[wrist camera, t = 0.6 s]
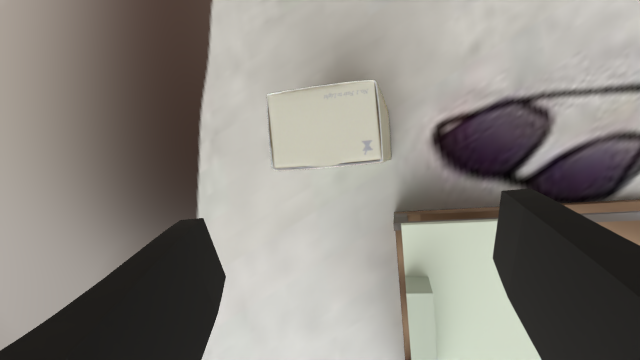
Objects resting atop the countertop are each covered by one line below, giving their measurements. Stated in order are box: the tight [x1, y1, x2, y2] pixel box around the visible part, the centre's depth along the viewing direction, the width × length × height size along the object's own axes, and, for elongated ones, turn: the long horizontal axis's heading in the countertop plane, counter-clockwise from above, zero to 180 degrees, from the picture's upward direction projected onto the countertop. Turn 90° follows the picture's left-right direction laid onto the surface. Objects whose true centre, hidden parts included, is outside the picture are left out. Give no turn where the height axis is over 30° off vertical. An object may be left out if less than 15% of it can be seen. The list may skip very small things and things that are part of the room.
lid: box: [401, 219, 541, 360], centre depth 22 cm, size 13×8×4 cm, turn 5°
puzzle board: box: [394, 199, 640, 360], centre depth 25 cm, size 13×22×5 cm, turn 95°
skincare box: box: [266, 80, 391, 171], centre depth 24 cm, size 6×4×12 cm
